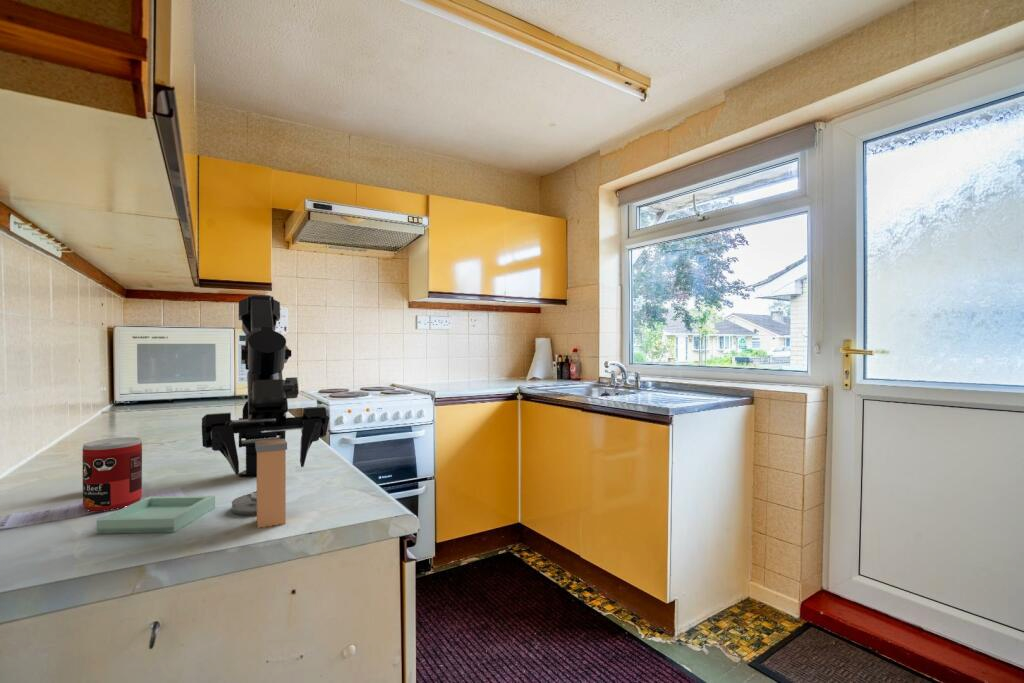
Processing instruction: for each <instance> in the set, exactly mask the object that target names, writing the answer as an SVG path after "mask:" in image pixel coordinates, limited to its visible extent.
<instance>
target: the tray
mask: <svg viewBox="0 0 1024 683" xmlns="http://www.w3.org/2000/svg"><path fill="white" fill-rule="evenodd" d="M214 508H216V495H182V496H181V495H180V496H179V495H178V496H175V495H174V496H170V495H169V496H146V497H145V498H143V499H142V498H141V499H140V501H138V502H136V503H133V504H131V505H129V506H127V507H125V508H121V509H117V510H115V511H114V512H112V513H110V514H109V513H108V514H107V515H105V516H103V517H101V518H99V519H97V520H96V535H105V534H106V535H108V534H109V535H113V533H114V534H117V533H119V534H147V533H148V534H156V533H157V534H158V533H159V534H160V533H175V532H177V531H179V530H180V529H182V528H184V527H185V526H187V525H188V524H190V523H192V522H194V521H195V520H197V519H199V518H201V517H202V516H203V515H205V514H207V513H208V512H210V511H211V510H214Z"/></svg>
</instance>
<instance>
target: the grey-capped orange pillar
mask: <svg viewBox="0 0 1024 683" xmlns="http://www.w3.org/2000/svg"><path fill="white" fill-rule="evenodd" d="M255 448H256V452H257V476H256V491H257V515H256V525H257V529H261V528H260V527H263V528H267V527H266V526H269V527H273V526H272V525H275V526H280V525H279V524H281V525H286V523H287V521H286V519H287V518H286V497H287V495H286V493H287V492H286V491H287V490H286V485H287V481H286V471H287V470H286V468H287V467H286V466H287V465H286V464H287V463H286V462H287V461H286V457H287V456H286V450H287V451H288V442H287V440H286V438H285V439H274V440H263V441H255Z"/></svg>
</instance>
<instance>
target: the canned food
mask: <svg viewBox="0 0 1024 683" xmlns="http://www.w3.org/2000/svg"><path fill="white" fill-rule="evenodd" d="M81 459H82V506H83V510H85V509H86V510H89V511H88V512H90V511H101V512H107V511H106V510H110V511H112V510H111V509H116V510H118V509H117V508H121V507H125V506H129V505H131V504H133V503H136V502H138V501H140V500H142V496H143V495H142V494H143V491H142V490H143V441H142V438H140V437H137V436H136V437H134V436H133V437H132V436H131V437H130V436H129V437H128V436H127V437H125V436H124V437H113V438H102V439H98V440H92V441H88V442H85V443H84V444H82V458H81ZM121 509H122V508H121ZM86 510H85V511H86ZM104 510H105V511H104Z"/></svg>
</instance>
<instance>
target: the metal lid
mask: <svg viewBox="0 0 1024 683" xmlns="http://www.w3.org/2000/svg"><path fill="white" fill-rule="evenodd" d="M231 513H232V514H233V515H234V516H235V515H236V516H243V517H245V516H246V517H250V516H252V515H253V516H257V490H256V491H252V492H251V493H247V494H244V495H241V496H238V497H236V498H234V499H233V500H232V501H231Z"/></svg>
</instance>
